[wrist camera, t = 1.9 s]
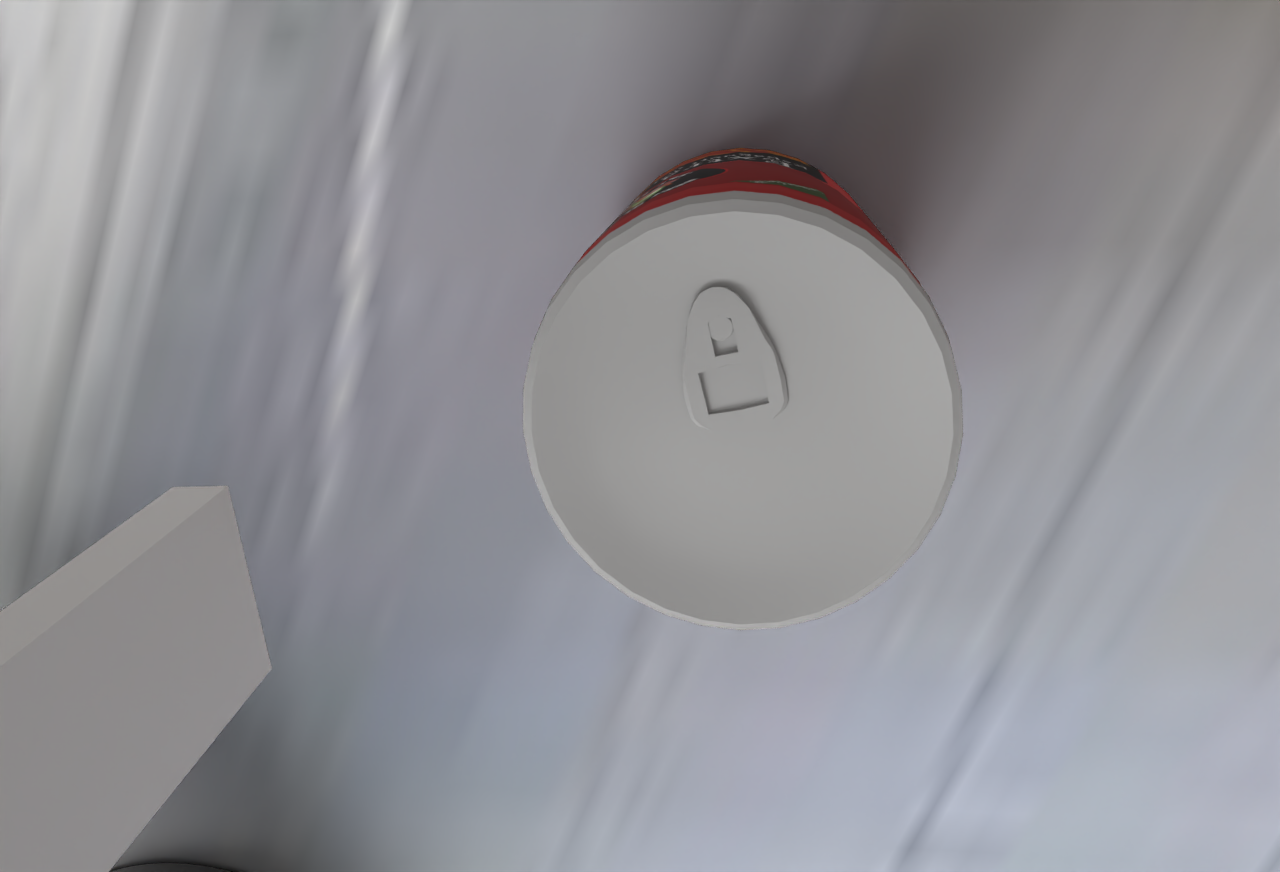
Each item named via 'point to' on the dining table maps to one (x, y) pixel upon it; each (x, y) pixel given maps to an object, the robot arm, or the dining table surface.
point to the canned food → (743, 398)
